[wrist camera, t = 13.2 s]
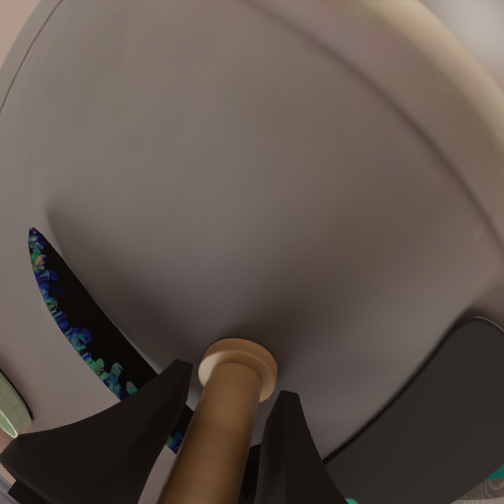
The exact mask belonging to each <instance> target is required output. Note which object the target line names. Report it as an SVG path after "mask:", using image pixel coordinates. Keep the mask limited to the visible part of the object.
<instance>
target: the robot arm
mask: <svg viewBox="0 0 504 504" xmlns="http://www.w3.org/2000/svg"><path fill="white" fill-rule="evenodd" d="M192 368H193V364H190V363H187V362H184V361H181V360H179V359H177V360H175V361H173V362H172V363H171V364H170V365H169V366H168V367H167V368H166V369H165V370H164V371H162V372H161V373H160V374H159V375H158V376H156V377H155V378H154V379H153V380H151V381H150V382H149V383H147V384H146V385H145V386H143V387H142V388H141V389H139V390H138V391H136V392H135V393H133V394H132V395H130V396H129V397H127V398H125V399H124V400H122V401H121V402H119V403H117V404H115V405H114V406H112V407H110V408H108V409H106V410H104V411H102V412H100V413H98V414H95V415H93V416H91V417H88V418H86V419H83V420H81V421H78V422H75V423H72V424H69V425H65V426H62V427H58V428H54V429H51V430H46V431H40V432H34V433H27V434H20V435H18V436H17V437H16V438H15V439H14V440H13V441H11V442H10V443H9V445H8V446H7V447H6V449H4V451H3V452H2V453H1V454H0V463H1V464H2V465H3V466H4V468H5V469H6V470H7V471H8V472H9V473H10V474H11V475H12V476H13V477H14V478H15V479H16V482H15V483H14V484H13V485H11V484H10V483H9V482H8V481H7V480H6V479H5V478H3V477H2V476H1V475H0V504H138V501H139V499H140V496H141V494H142V491H143V489H144V486H145V484H146V481H147V479H148V477H149V474H150V472H151V469H152V467H153V465H154V463H155V461H156V460H157V458H158V456H159V454H160V452H161V451H162V449H163V447H164V445H165V444H166V442H167V440H168V438H169V437H170V435H171V433H172V431H173V429H174V428H175V426H176V424H177V422H178V420H179V418H180V416H181V413H182V411H183V408H184V406H185V403H186V401H187V398H188V392H189V386H190V380H191V374H192ZM157 500H158V499H157ZM156 502H157V501H156ZM254 504H349V503H348V502H347V501H346V500H345V498H344V497H343V496H342V494H341V493H340V491H339V490H338V488H337V487H336V485H335V484H334V482H333V480H332V479H331V477H330V475H329V473H328V472H327V470H326V468H325V466H324V464H323V462H322V460H321V458H320V456H319V453H318V451H317V449H316V447H315V444H314V442H313V439H312V437H311V434H310V431H309V429H308V426H307V423H306V420H305V417H304V413H303V410H302V407H301V403H300V399H299V396H298V394H297V393H293V392H288V391H284V390H281V392H280V394H279V396H278V398H277V400H276V402H275V404H274V406H273V409H272V411H271V413H270V415H269V417H268V419H267V421H266V425H265V429H264V433H263V438H262V443H261V452H260V462H259V472H258V481H257V490H256V497H255V502H254Z"/></svg>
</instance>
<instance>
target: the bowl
mask: <svg viewBox="0 0 504 504" xmlns="http://www.w3.org/2000/svg"><path fill="white" fill-rule="evenodd" d="M30 425H31V418H30V416H29V412H28V409H27V407H26V406H25V404H24V402H23V401H22V399H21V398H20V396H19V395H18V393H17V392H16V390H15V389H14V388H13V386H12V385H11V384H10V383H9V381H8V380H7V379H6V378H5V377H4V375H3V374H2V373H1V372H0V427H1V428H2V429H3V430H4V431H5V432H6V433H8V434H9V435H10V436H12V437H13V438H16V437H17V436H18V435H20V434H23V433H24V432H25V431H26V429H27V428H28V427H29V426H30Z"/></svg>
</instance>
